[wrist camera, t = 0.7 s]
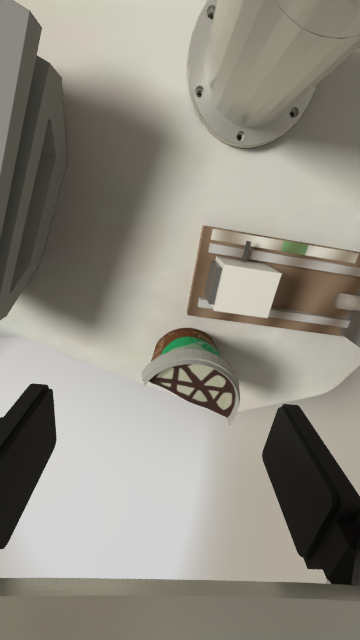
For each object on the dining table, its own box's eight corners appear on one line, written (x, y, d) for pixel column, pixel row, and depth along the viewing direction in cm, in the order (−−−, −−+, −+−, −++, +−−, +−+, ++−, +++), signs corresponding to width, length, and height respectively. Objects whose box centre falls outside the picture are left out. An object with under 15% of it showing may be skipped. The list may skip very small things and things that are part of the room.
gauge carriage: (203, 295, 32) (208, 310, 27) (215, 234, 29) (223, 239, 24) (253, 302, 32) (267, 318, 28) (270, 244, 30) (289, 250, 25)
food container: (242, 344, 37) (266, 389, 28) (218, 375, 39) (233, 426, 30) (169, 304, 34) (169, 338, 25) (147, 339, 36) (139, 383, 27)
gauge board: (187, 310, 34) (190, 332, 28) (202, 225, 30) (210, 229, 24) (350, 333, 37) (385, 357, 31) (387, 256, 32) (435, 267, 26)
